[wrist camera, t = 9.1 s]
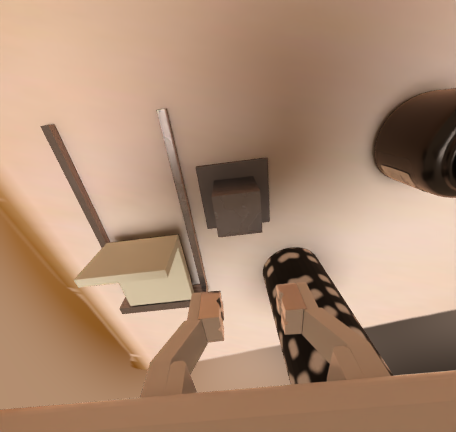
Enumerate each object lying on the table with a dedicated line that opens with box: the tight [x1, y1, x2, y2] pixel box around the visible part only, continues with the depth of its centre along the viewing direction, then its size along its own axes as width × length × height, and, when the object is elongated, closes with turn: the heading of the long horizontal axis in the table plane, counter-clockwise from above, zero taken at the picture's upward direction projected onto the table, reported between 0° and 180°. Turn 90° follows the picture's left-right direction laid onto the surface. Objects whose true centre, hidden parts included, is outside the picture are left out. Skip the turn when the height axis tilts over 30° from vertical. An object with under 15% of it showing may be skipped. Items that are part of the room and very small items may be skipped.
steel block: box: [212, 176, 262, 237], centre depth 22 cm, size 4×4×5 cm
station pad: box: [196, 158, 270, 229], centre depth 24 cm, size 8×8×1 cm
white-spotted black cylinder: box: [263, 248, 393, 384], centre depth 21 cm, size 8×8×20 cm
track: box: [41, 109, 208, 314], centre depth 25 cm, size 25×12×3 cm, turn 7°
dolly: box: [74, 235, 194, 306], centre depth 25 cm, size 10×9×8 cm
